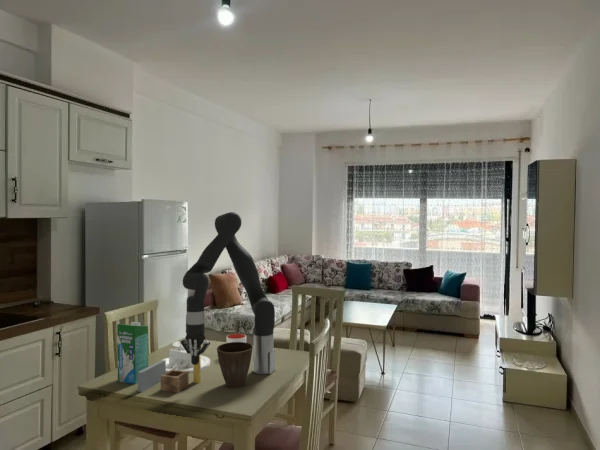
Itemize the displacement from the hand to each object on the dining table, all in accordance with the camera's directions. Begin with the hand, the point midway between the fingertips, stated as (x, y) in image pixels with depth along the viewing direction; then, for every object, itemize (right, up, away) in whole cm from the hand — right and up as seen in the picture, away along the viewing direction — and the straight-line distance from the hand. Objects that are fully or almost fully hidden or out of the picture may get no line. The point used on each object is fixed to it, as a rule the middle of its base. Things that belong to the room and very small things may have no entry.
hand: (195, 364), depth 183 cm
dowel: (-2, -11, +10) cm, 15 cm away
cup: (+10, -10, +46) cm, 48 cm away
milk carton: (-30, -11, +13) cm, 35 cm away
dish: (-13, -11, +33) cm, 37 cm away
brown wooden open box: (-9, -11, +3) cm, 14 cm away
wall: (-20, -11, +7) cm, 23 cm away
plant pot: (+15, -11, +7) cm, 20 cm away
